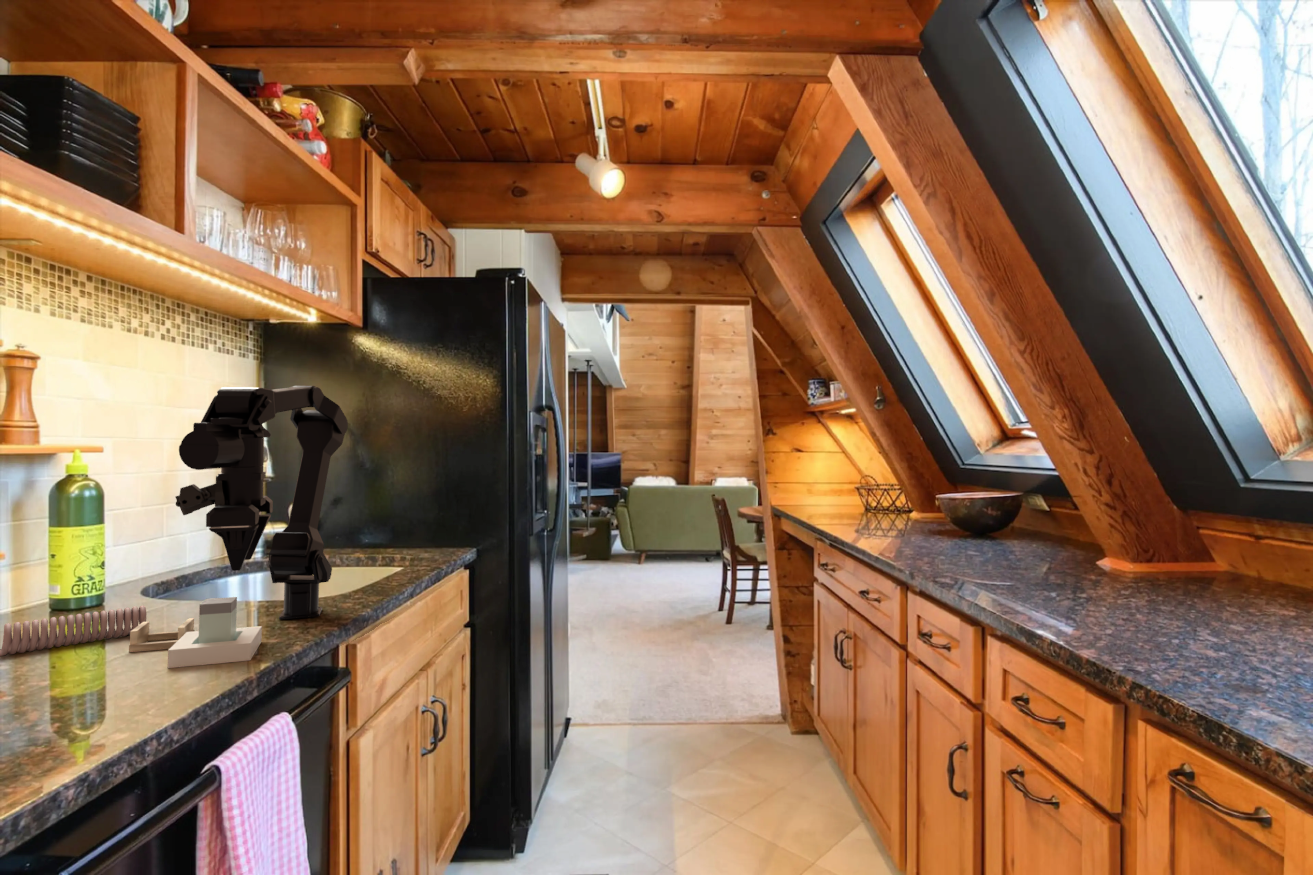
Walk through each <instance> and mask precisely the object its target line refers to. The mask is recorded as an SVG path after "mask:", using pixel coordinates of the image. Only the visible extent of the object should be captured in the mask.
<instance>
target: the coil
mask: <svg viewBox="0 0 1313 875" xmlns="http://www.w3.org/2000/svg"><path fill="white" fill-rule="evenodd" d="M92 612H93V611H92ZM142 622H147V608H146V606H145V605H144V604H143V605H140V606H139V607H138V606H135V605H134V606H132V607H131V608H130V607H128V606H127V607H124V609H122V608H117V609H116V610H114V609H109V610H108V611H107V610H101V611H100V613H99V612H98V611H94V612H93V613H90V612H85V613H84V615H83V614H81V613H77V614H76V615H75V616H74V615H73V614H68V615H67V617H65V616H63V615H60V616H59V617H58V619H57V618H56V617H55V616H53V617H50V619H49V620H48V618H42V619H41V621H39V620H38V619H34V620H32V622H31V623H30V621H29V620H25V621H23V622H22V626H21V622H19V621H17V622H14V623H13V631H12V623H9V622H8V623H7V622H6V623H5V624H4V627H3V637H2V646H1V648H0V657H4V656H6V655H7V654H9V655H14V654H16V653H19V654H21V653H22V654H23V653H25V652H26V651H27V652H34V651H35V650H37V651H41V650H43V649H44V648H45V649H52V648H53V647H54V648H60V647H61V646H64V647H66V646H70V645H77V644H79V643H80V644H85V643H87V642H90V643H91V642H95V641H102V640H104V639H105V640H110V639H111V638H113V639H118V638H119V637H127V636H130V631H132V630H133V629H134V628H136V627H137V626H138V625H140V624H141V623H142ZM57 623H58V624H57ZM30 625H31V626H30ZM57 625H58V626H57ZM57 628H58V630H57ZM91 628H92V629H91ZM107 628H108V629H107Z"/></svg>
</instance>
